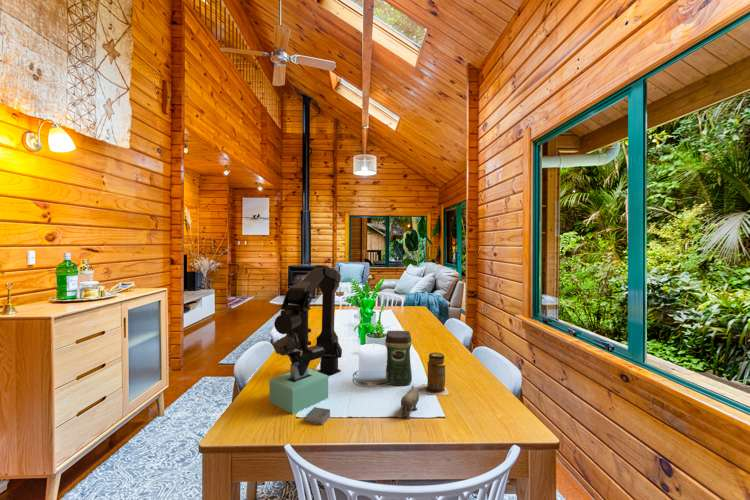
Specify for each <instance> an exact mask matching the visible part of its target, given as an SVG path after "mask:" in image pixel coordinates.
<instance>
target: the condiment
mask: <svg viewBox="0 0 750 500" xmlns="http://www.w3.org/2000/svg"><path fill="white" fill-rule="evenodd" d="M423 385H424V389H425V391H426V392H427V394H428V395H435V396H436V395H437V396H439V395H441V396H442V395H444V396H445V395H447V396H448V395H450V393H449V391H448V389H447V387H446V362H445V355H444V354H443V353H441V352H435V351H434V352H430V353H429V355H428V362H427V383H424V384H423Z"/></svg>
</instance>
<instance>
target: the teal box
mask: <svg viewBox="0 0 750 500" xmlns="http://www.w3.org/2000/svg"><path fill="white" fill-rule="evenodd" d="M268 385H269V394H268V395H269V397H268V398H269V401H268V402H269V403H270V404H272V405H274V406H277V407H278V408H280V409H282V410H284V411H286V412H287V413H290V414H291V415H294V414H297V413H299V412H301V411H303V410H305V409H308V408H310V407H312V406H315V405H316V403H317V404H319V403H321V402H323V401H325V400H324V399H326V398H328V399H329V376H328V375H325V374H322V373H320V372H318V371H316V370H314V369H311V368H309V367H308V377H307V378H304V379H301V380H299V381H296V382H294V381H291V380H290V371H289V372H285V373H283V374H280V375H277V376H274V377H271V378H269V384H268ZM322 400H323V401H322ZM326 400H327V399H326ZM320 401H321V402H320ZM318 402H319V403H318ZM311 405H312V406H311ZM309 406H310V407H309ZM307 407H308V408H307ZM304 408H305V409H304ZM302 409H303V410H302ZM300 410H301V411H300Z"/></svg>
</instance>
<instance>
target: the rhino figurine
mask: <svg viewBox="0 0 750 500" xmlns="http://www.w3.org/2000/svg"><path fill="white" fill-rule="evenodd" d="M421 391H422V387H421V388H418V389H417V388H415V387H414V385H412V386H411V389H410V390H408V392H407V393H406V394H405V395H403V396H402V397H401V399H400V405H401V413H400V415H401V416H402V415H403V417H404V416H405V420H411V419H412V418H411V416H410V413H411V411H412V410H413V411H416V410H417V411H418V408H417V404H418V402H419V401H420V400H419V399H420V398H419V397H420V396H419V392H421Z"/></svg>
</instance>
